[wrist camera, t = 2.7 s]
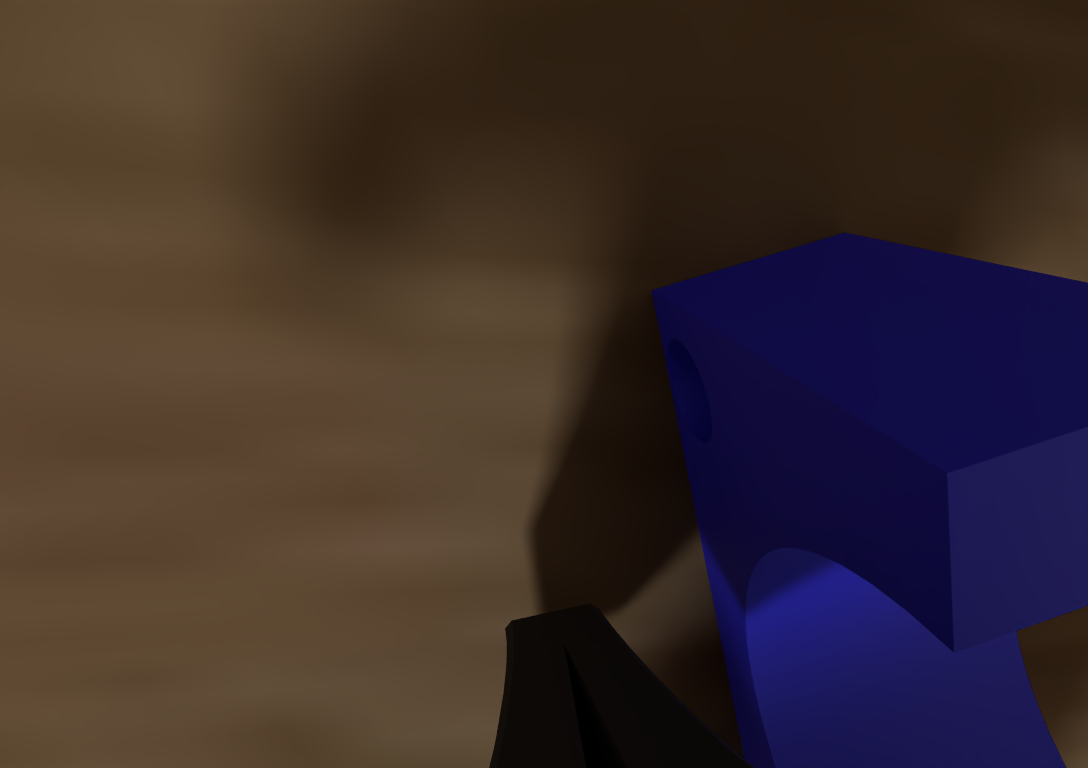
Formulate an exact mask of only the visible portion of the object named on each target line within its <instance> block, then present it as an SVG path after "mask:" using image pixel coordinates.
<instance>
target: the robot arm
mask: <svg viewBox="0 0 1088 768" xmlns="http://www.w3.org/2000/svg"><path fill="white" fill-rule="evenodd" d="M505 631H506V638H507V663H506V675H505V685H504V694H503V700H502V706H501V712H500V718H499V724H498V730H497V736H496V741H495V746H494V750H493V755H492V759H491V763H490V767H489V768H755V767H753V766H752V765H751V764H750V763H749V762H747V761H746V760H745V759H744V758H743V757H741V756H740V755H739V754H738V753H737V752H736V751H734V750H733V749H732V748H731V747H730V746H729V745H727V744H726V743H725V742H724V741H723V740H722V739H721V738H720V737H719V736H717V735H716V734H715V733H714V732H713V731H712V730H711V729H710V728H709V727H707V726H706V725H705V724H704V723H703V722H702V721H701V720H700V719H699V718H698V717H697V716H696V715H695V714H693V713H692V712H691V711H690V710H689V709H688V708H687V707H686V706H685V705H684V704H683V703H682V702H681V701H680V700H679V699H678V698H677V697H676V696H675V695H674V694H673V693H672V692H671V691H670V690H669V689H668V688H667V687H666V686H665V685H664V684H663V683H662V682H661V681H660V680H659V679H658V678H657V677H656V676H655V675H654V674H653V672H652V671H651V670H650V669H649V668H648V667H647V666H646V665H645V664H644V663H643V662H642V661H641V659H640V658H639V657H638V656H637V655H636V654H635V653H634V652H633V650H632V649H631V648H630V647H629V646H628V645H627V644H626V642H625V641H624V640H623V639H622V638H621V637H620V635H619V634H618V633H617V632H616V630H615V629H614V628H613V627H612V626H611V624H610V623H609V622H608V620H607V619H606V618H605V616H604V615H603V614H602V612H601V611H600V610H599V608H597V607H596V606H594V605H593V604H587V605H582V606H578V607H573V608H568V609H564V610H559V611H554V612H549V613H545V614H540V615H535V616H531V617H526V618H521V619H517V620H512V621H511V622H510V623H509V625H508V626H507V627H506V628H505Z"/></svg>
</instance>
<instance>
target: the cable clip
mask: <svg viewBox="0 0 1088 768" xmlns="http://www.w3.org/2000/svg"><path fill="white" fill-rule="evenodd" d="M652 295H653V300H654V305H655V310H656V315H657V320H658V325H659V330H660V335H661V340H662V345H663V350H664V355H665V360H666V365H667V371H668V376H669V381H670V386H671V391H672V396H673V401H674V406H675V411H676V416H677V421H678V426H679V431H680V436H681V441H682V446H683V451H684V456H685V461H686V466H687V471H688V476H689V481H690V486H691V491H692V497H693V502H694V507H695V512H696V517H697V522H698V527H699V532H700V537H701V542H702V547H703V552H704V557H705V562H706V567H707V572H708V577H709V582H710V587H711V592H712V597H713V602H714V607H715V612H716V618H717V623H718V628H719V633H720V638H721V643H722V648H723V653H724V658H725V663H726V668H727V673H728V678H729V683H730V688H731V693H732V698H733V703H734V708H735V713H736V718H737V723H738V728H739V733H740V739H741V744H742V749H743V754H744V759H745V760H746V761H747V762H749V763H750V764H751V765H752V766H753V767H755V768H1066V766H1065V764H1064V762H1063V760H1062V758H1061V756H1060V754H1059V752H1058V750H1057V748H1056V746H1055V743H1054V741H1053V739H1052V737H1051V735H1050V733H1049V731H1048V728H1047V726H1046V723H1045V721H1044V719H1043V716H1042V714H1041V711H1040V709H1039V706H1038V704H1037V701H1036V699H1035V696H1034V693H1033V690H1032V687H1031V684H1030V681H1029V678H1028V676H1027V672H1026V669H1025V665H1024V661H1023V658H1022V654H1021V650H1020V647H1019V642H1018V637H1017V631H1018V630H1021V629H1023V628H1026V627H1029V626H1032V625H1035V624H1037V623H1040V622H1043V621H1046V620H1049V619H1052V618H1054V617H1057V616H1060V615H1063V614H1066V613H1069V612H1071V611H1074V610H1077V609H1080V608H1083V607H1086V606H1088V283H1086V282H1081V281H1077V280H1072V279H1067V278H1062V277H1057V276H1052V275H1047V274H1043V273H1038V272H1033V271H1028V270H1023V269H1018V268H1014V267H1009V266H1004V265H999V264H994V263H989V262H984V261H980V260H975V259H970V258H965V257H960V256H955V255H950V254H946V253H941V252H936V251H931V250H926V249H921V248H916V247H912V246H907V245H902V244H897V243H892V242H887V241H883V240H878V239H873V238H868V237H863V236H858V235H853V234H849V233H842V234H839V235H835V236H832V237H829V238H825V239H822V240H819V241H815V242H812V243H809V244H805V245H802V246H799V247H795V248H792V249H789V250H785V251H782V252H779V253H775V254H772V255H769V256H765V257H762V258H758V259H755V260H752V261H748V262H745V263H742V264H738V265H735V266H732V267H728V268H725V269H722V270H718V271H715V272H712V273H708V274H705V275H702V276H698V277H695V278H692V279H688V280H685V281H682V282H678V283H675V284H671V285H668V286H665V287H661V288H658V289H655V290H652Z"/></svg>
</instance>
